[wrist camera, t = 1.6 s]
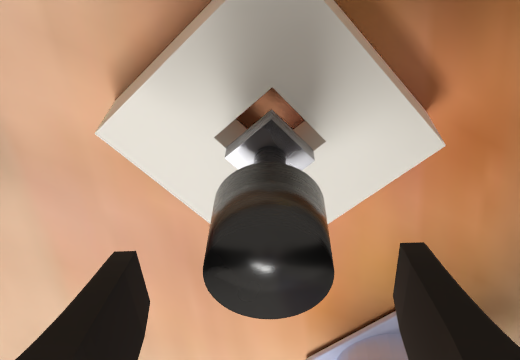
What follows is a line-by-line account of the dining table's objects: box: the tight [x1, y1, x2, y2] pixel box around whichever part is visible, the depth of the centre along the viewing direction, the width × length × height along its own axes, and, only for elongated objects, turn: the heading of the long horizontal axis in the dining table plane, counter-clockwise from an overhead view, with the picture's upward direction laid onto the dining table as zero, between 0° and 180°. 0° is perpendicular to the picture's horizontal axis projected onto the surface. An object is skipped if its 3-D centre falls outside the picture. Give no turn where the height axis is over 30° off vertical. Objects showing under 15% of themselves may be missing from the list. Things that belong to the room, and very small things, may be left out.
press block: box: [95, 0, 446, 224], centre depth 21 cm, size 10×10×3 cm
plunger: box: [203, 109, 334, 319], centre depth 16 cm, size 4×4×7 cm
